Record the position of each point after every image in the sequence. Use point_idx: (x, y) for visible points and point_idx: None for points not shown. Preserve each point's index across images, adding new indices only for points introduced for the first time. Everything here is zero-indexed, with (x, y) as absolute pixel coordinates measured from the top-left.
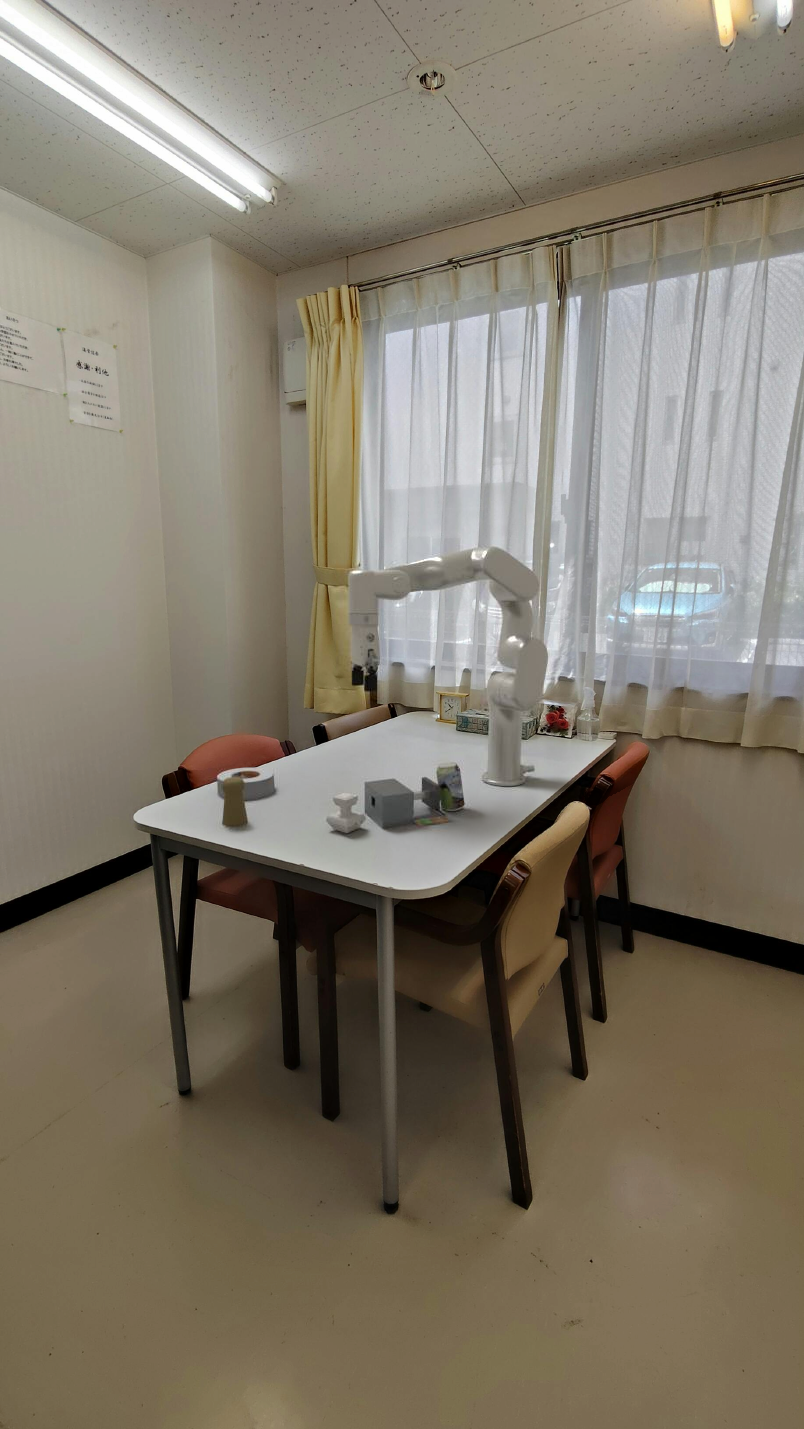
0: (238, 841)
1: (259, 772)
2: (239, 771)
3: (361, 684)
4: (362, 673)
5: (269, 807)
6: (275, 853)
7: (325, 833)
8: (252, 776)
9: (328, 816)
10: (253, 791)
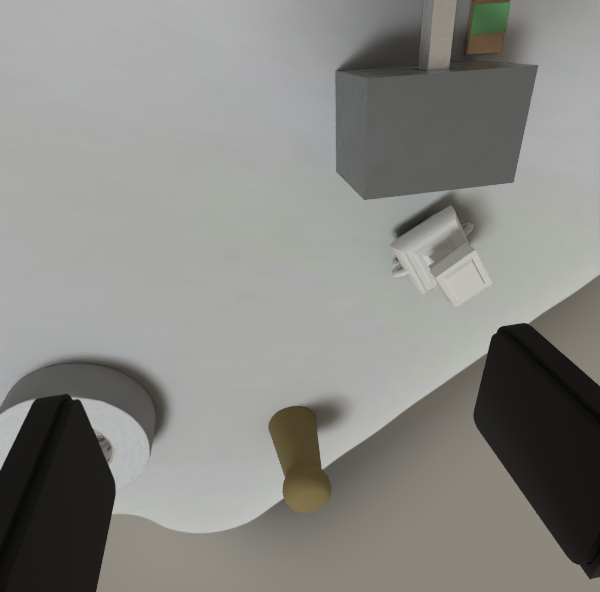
0: (385, 413)
1: None
2: None
3: (83, 419)
4: (29, 559)
5: (222, 373)
6: (461, 366)
7: None
8: None
9: (425, 292)
10: (150, 416)
